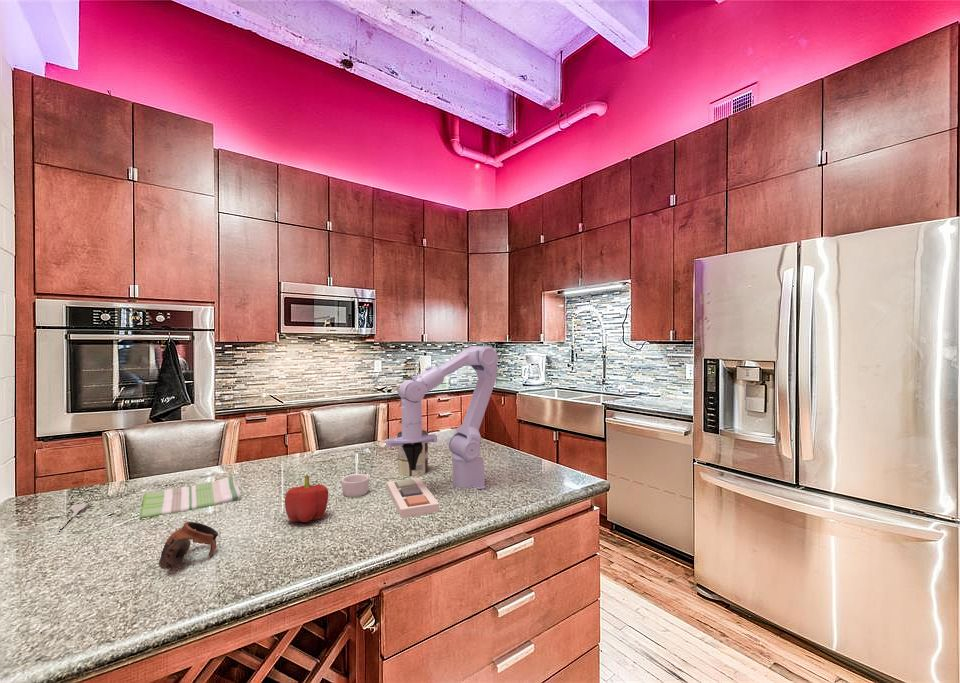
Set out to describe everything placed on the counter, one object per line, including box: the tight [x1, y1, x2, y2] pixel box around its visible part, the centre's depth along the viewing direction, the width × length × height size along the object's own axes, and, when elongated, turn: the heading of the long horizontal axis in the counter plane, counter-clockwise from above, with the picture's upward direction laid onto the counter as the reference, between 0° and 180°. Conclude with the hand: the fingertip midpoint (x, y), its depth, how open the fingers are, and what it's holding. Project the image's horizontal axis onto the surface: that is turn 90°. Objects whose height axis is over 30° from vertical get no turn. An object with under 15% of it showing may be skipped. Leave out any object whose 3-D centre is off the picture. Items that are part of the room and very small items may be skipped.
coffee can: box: [396, 429, 429, 477], centre depth 144 cm, size 10×10×14 cm
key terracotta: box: [406, 495, 428, 507], centre depth 114 cm, size 5×5×2 cm
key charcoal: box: [401, 486, 421, 497], centre depth 120 cm, size 5×5×2 cm
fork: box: [70, 502, 93, 518], centre depth 111 cm, size 3×21×3 cm, turn 23°
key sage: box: [395, 478, 416, 489], centre depth 127 cm, size 5×5×2 cm
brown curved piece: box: [158, 521, 219, 570], centre depth 90 cm, size 12×10×8 cm
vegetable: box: [284, 474, 329, 523], centre depth 110 cm, size 11×10×10 cm
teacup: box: [340, 473, 370, 498], centre depth 126 cm, size 10×8×5 cm
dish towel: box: [139, 475, 242, 520], centre depth 123 cm, size 17×23×4 cm
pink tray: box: [385, 477, 440, 519], centre depth 120 cm, size 10×22×3 cm, turn 22°
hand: (412, 469), depth 123 cm, fingers closed
